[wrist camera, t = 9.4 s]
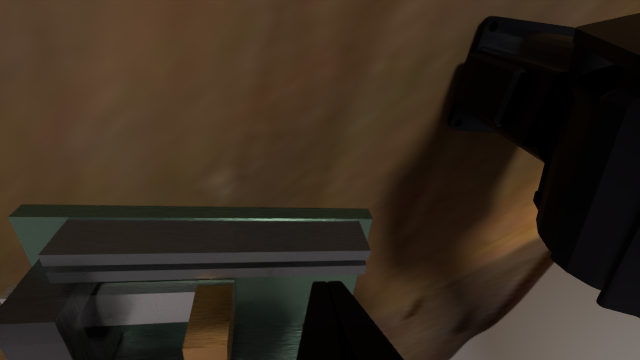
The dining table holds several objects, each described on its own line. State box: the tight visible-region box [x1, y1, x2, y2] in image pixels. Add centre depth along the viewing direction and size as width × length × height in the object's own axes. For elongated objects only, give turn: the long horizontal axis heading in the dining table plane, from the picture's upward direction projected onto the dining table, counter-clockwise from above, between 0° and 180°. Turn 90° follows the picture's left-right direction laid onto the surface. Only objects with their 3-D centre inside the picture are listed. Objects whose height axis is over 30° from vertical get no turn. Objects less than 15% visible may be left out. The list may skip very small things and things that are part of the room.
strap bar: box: [0, 279, 235, 360], centre depth 20 cm, size 14×4×5 cm, turn 83°
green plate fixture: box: [0, 205, 373, 360], centre depth 22 cm, size 22×14×6 cm, turn 83°
